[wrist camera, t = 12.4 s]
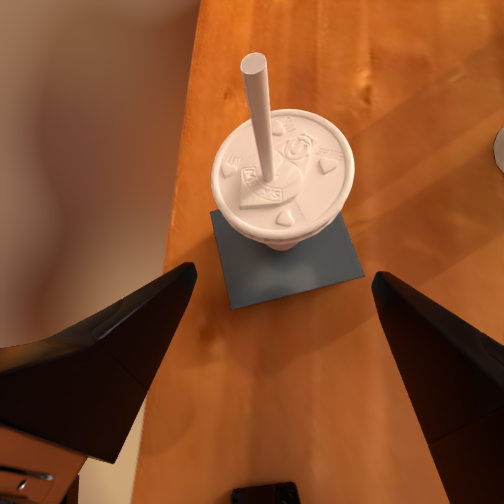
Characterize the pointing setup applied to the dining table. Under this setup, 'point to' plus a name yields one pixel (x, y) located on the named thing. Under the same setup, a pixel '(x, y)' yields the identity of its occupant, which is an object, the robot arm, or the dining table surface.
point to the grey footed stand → (283, 263)
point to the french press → (499, 149)
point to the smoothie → (280, 169)
